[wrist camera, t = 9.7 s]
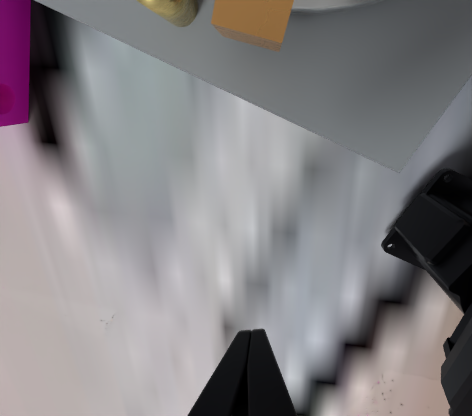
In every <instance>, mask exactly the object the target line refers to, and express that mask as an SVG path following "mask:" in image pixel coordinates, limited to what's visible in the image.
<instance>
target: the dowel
mask: <svg viewBox="0 0 472 416" xmlns="http://www.w3.org/2000/svg"><path fill="white" fill-rule="evenodd" d="M137 1H138V2H139V3H141V4H142V5H144V6H145V7H147V8H148V9H150V10H151V11H153V12H154V13H156V14H158V15H159V16H161V17H162V18H164V19H165V20H167V21H168V22H170V23H171V24H173V25H174V26H177V27H186V26H188V25H190V24H191V23H192V22H193V21H194V19H195V17H196V15H197V11H198V2H197V0H137Z"/></svg>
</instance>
